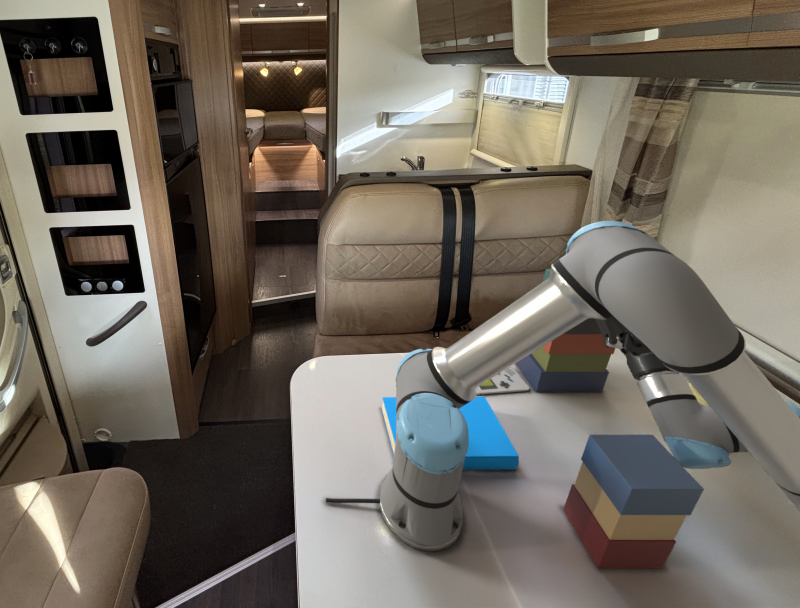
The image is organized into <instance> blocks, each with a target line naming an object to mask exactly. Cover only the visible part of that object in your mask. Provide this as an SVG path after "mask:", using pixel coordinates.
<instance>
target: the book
mask: <svg viewBox="0 0 800 608" xmlns="http://www.w3.org/2000/svg"><path fill="white" fill-rule="evenodd" d="M459 410H460V411H461V412H462V414H463V416H464V418H465V419H466V422H467V426H468V432H469V445H468V451H467V454H466V457H465V460H464V465H463V469H462V471H475V470H476V471H477V470H478V471H479V470H481V471H482V470H485V471H486V470H487V471H489V470H491V471H492V470H493V471H494V470H495V471H496V470H498V471H499V470H500V471H501V470H516V469H517V468H518V467H519V463H520V460H519V459H520V457H519V456H520V455H519V454H518V452H517V450H516V448H515V447H514V445H513V443H512V441H511V440H510V438H509V436H508V434H507V432H506V431H505V429H504V427H503V426H502V424H501V422H500V421H499V418H498V417H497V414H495V412H494V410H493V408H492V406H491V404H490V402H489V401H488V400H487V397H486V396H476V397H475V399H474V400H473V401H471V402H469V403H467V404H466V405H464V406H463V407H461V408H460V409H459ZM381 413H382V417H383V421H384V424H385V429H386V431H387V437H388V439H389V443H390V447H391V451H392V454H393V456H394V453H395V444H396V396H383V397H382V404H381Z"/></svg>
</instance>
